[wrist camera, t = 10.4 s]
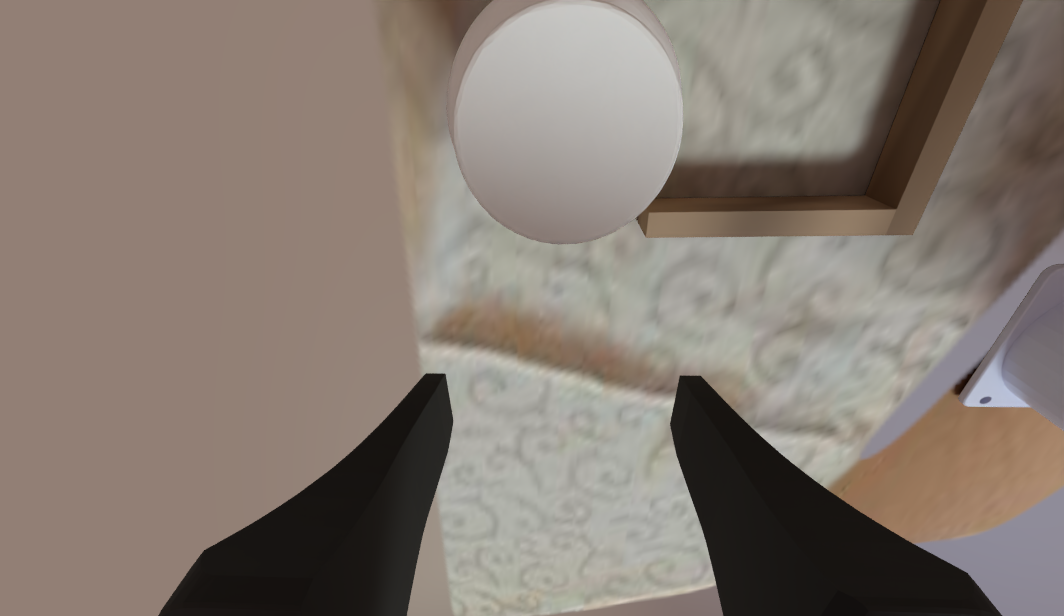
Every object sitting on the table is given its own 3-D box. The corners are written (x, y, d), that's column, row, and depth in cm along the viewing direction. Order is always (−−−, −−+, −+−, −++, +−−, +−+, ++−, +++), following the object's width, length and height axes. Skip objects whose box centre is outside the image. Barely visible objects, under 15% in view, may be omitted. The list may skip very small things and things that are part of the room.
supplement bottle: (517, 188, 17) (488, 311, 9) (459, 45, 15) (344, 33, 6) (646, 138, 16) (749, 227, 8) (607, -26, 14) (698, -153, 5)
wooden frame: (1018, -112, 12) (1086, -136, 11) (880, 218, 17) (912, 234, 16) (672, -97, 13) (689, -117, 11) (637, 221, 18) (645, 237, 16)
